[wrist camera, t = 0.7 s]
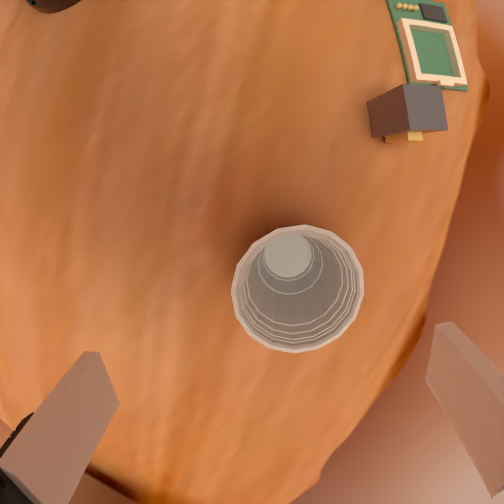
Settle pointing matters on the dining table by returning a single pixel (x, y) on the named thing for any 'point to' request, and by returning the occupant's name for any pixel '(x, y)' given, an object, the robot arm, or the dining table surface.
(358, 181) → the dining table surface
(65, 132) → the dining table surface
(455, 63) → the board
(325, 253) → the plastic cup
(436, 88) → the dark grey rectangular block
